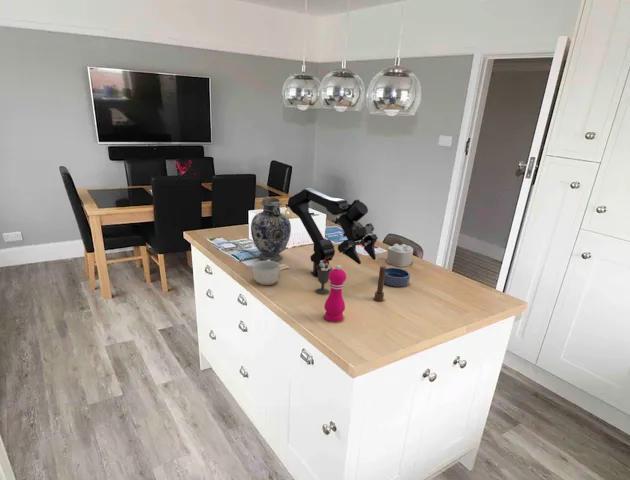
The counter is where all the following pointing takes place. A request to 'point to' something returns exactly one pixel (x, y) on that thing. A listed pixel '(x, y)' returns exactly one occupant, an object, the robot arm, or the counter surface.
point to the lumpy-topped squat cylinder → (400, 255)
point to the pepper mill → (335, 295)
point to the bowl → (396, 277)
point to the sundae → (323, 275)
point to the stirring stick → (380, 285)
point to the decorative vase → (270, 230)
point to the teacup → (266, 272)
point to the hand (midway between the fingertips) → (367, 261)
